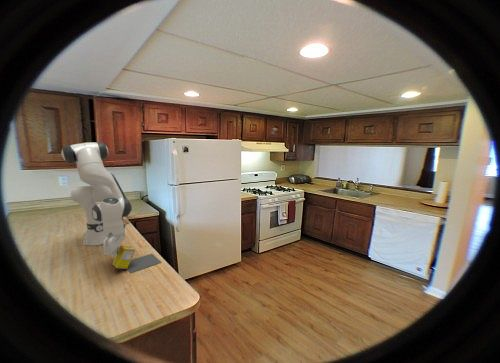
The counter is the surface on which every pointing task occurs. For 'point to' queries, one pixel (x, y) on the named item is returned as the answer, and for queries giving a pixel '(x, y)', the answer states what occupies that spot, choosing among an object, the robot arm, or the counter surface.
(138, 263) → the mat
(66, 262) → the counter surface
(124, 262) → the supplement box
